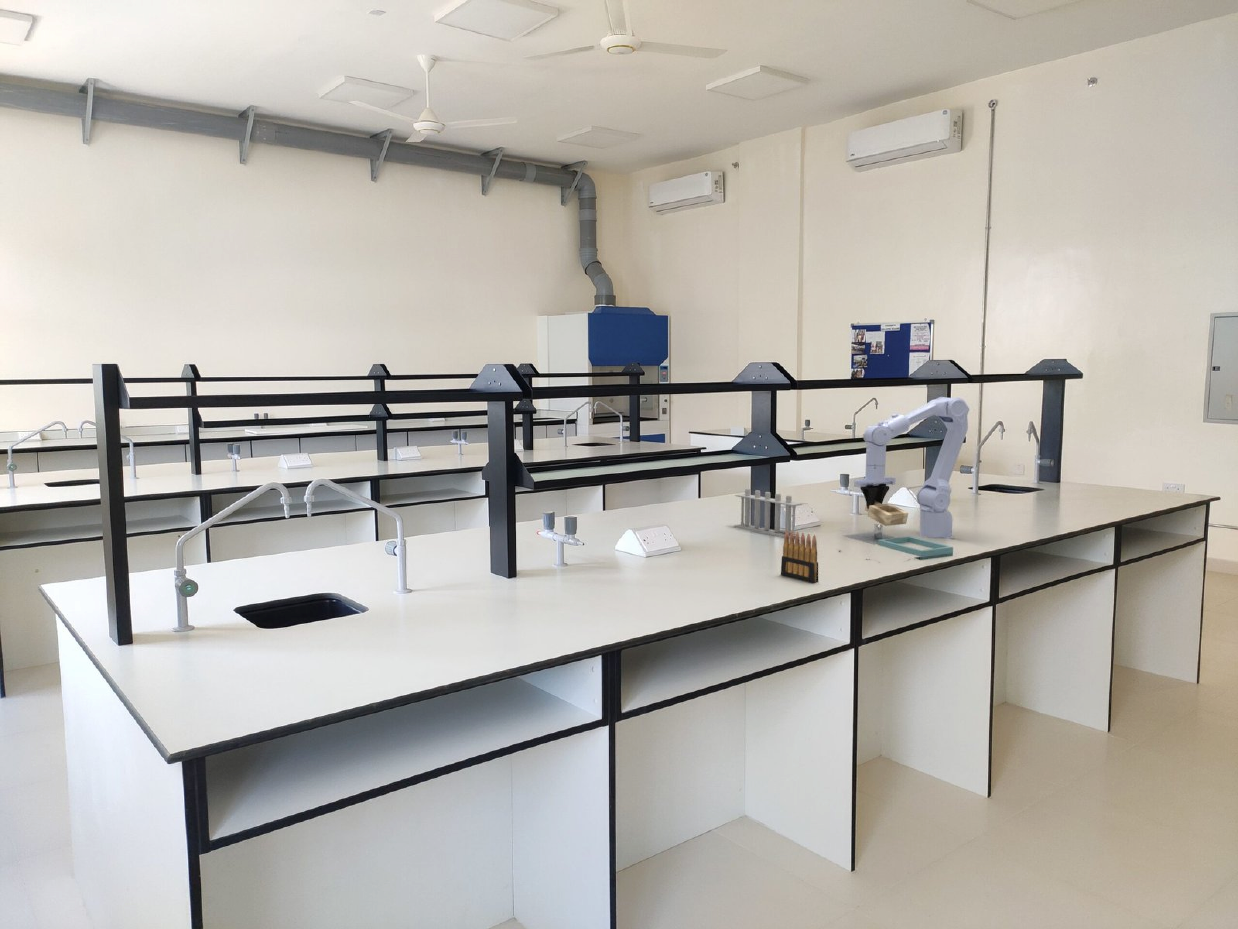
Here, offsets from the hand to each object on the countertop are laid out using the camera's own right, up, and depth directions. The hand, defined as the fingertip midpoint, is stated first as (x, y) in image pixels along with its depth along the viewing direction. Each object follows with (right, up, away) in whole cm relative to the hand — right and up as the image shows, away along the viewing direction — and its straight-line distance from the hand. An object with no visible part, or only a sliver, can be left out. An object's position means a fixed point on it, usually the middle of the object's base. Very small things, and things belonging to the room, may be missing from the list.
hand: (874, 509), depth 259 cm
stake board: (0, -10, +1) cm, 10 cm away
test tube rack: (-30, -9, +15) cm, 35 cm away
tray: (+7, -12, -14) cm, 20 cm away
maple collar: (+1, -2, -3) cm, 4 cm away
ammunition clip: (-32, -16, -44) cm, 57 cm away
